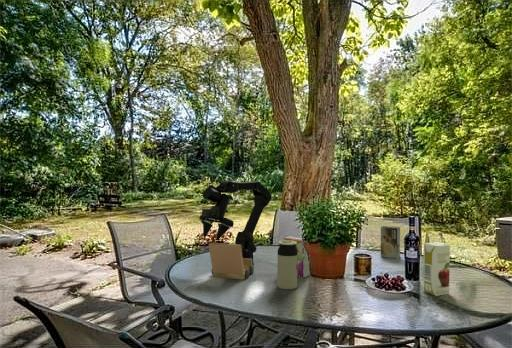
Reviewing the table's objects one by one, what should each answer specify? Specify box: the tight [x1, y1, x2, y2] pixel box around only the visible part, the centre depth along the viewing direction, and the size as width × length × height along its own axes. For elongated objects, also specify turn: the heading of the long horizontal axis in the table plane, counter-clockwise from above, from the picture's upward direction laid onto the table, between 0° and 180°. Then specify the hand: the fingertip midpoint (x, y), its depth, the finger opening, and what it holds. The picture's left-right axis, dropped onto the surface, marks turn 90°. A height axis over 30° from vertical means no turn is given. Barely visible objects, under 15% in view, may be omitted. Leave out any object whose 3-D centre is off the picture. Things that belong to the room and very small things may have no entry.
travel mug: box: [276, 239, 298, 291], centre depth 152 cm, size 8×8×18 cm
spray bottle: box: [283, 235, 310, 278], centre depth 169 cm, size 11×5×16 cm, turn 47°
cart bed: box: [211, 258, 255, 280], centre depth 169 cm, size 13×16×6 cm
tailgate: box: [208, 242, 244, 275], centre depth 161 cm, size 1×14×14 cm, turn 74°
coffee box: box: [380, 225, 401, 259], centre depth 207 cm, size 9×6×16 cm
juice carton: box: [422, 241, 451, 297], centre depth 146 cm, size 8×9×19 cm
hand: (210, 238), depth 173 cm, fingers open, 9 cm apart
